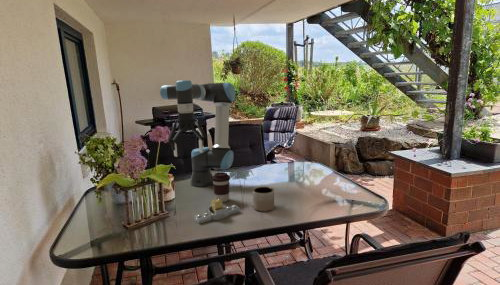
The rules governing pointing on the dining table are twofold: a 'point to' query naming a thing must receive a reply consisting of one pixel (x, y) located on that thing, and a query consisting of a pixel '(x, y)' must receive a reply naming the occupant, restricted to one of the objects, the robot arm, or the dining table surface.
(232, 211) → the chain end
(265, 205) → the planter
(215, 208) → the link peg
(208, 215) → the chain end
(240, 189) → the dining table surface
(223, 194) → the coffee cup
